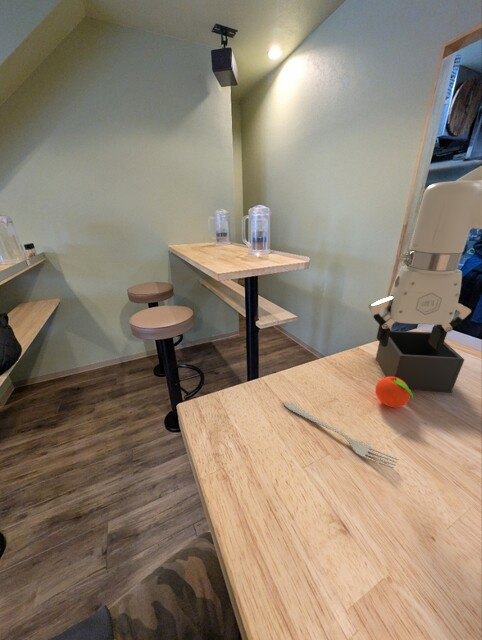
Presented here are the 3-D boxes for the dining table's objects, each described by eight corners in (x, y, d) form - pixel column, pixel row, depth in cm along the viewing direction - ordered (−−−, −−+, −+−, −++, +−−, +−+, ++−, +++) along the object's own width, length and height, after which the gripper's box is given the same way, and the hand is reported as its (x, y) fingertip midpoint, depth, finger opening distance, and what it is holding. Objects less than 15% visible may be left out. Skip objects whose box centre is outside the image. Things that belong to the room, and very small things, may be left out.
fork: (288, 399, 62) (288, 394, 61) (397, 464, 46) (399, 457, 45) (280, 406, 60) (280, 401, 59) (391, 476, 44) (393, 470, 43)
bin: (424, 361, 74) (434, 332, 70) (451, 392, 62) (464, 359, 58) (375, 358, 77) (381, 330, 72) (391, 388, 64) (400, 355, 60)
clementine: (417, 409, 58) (425, 385, 55) (399, 421, 55) (407, 396, 52) (384, 389, 64) (390, 366, 61) (366, 399, 61) (372, 376, 58)
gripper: (386, 265, 42) (367, 351, 49) (504, 266, 39) (466, 358, 47) (372, 256, 49) (358, 334, 56) (473, 257, 46) (444, 338, 53)
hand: (407, 344), depth 51 cm, fingers open, 9 cm apart
